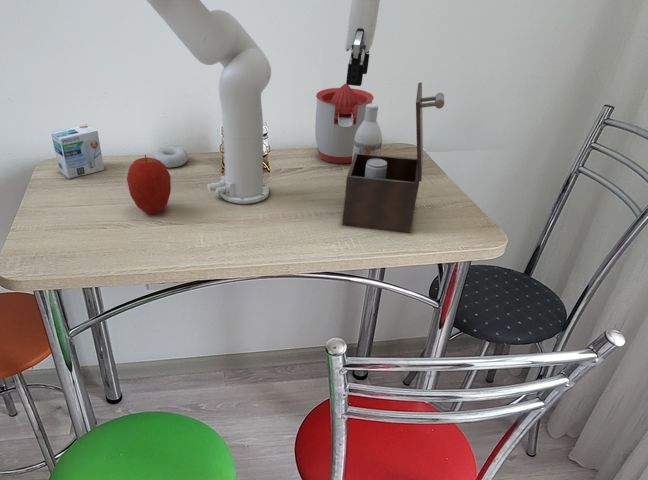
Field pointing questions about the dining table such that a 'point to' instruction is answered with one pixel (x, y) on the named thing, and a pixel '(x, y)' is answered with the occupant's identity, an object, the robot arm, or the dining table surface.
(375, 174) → the beverage can
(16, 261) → the dining table surface
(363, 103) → the citrus juicer
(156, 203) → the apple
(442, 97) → the lid
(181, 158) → the donut
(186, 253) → the dining table surface
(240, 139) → the robot arm
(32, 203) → the dining table surface
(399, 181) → the chest
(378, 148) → the bath foam
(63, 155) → the light bulb box
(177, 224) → the dining table surface
